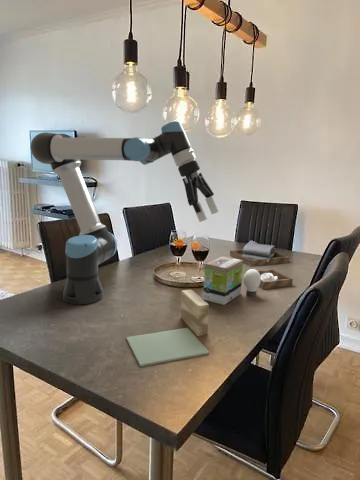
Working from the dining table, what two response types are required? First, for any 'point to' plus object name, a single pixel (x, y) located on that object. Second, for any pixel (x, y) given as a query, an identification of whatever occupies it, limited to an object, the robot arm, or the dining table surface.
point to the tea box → (222, 279)
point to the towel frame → (278, 259)
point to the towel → (258, 251)
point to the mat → (165, 346)
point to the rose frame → (280, 282)
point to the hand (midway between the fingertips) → (209, 216)
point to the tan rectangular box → (194, 312)
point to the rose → (268, 277)
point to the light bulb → (252, 282)
